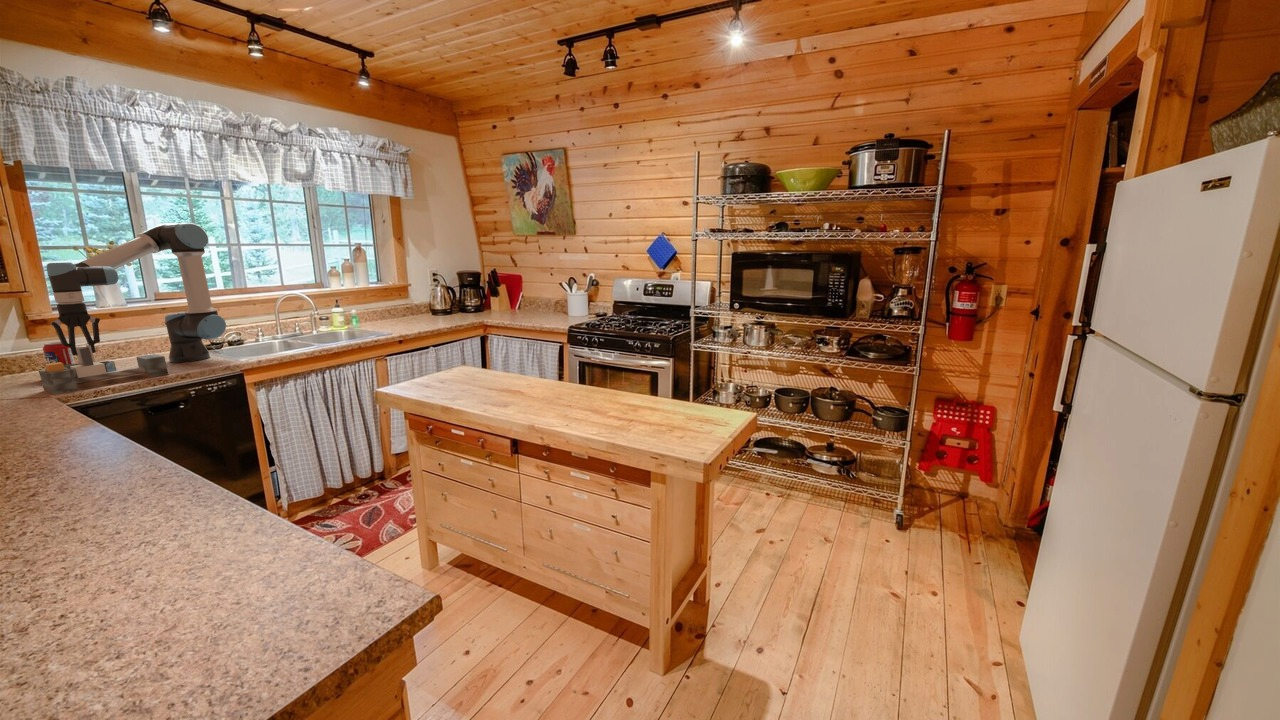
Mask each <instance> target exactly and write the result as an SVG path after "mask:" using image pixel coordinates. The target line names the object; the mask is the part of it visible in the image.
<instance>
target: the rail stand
mask: <svg viewBox="0 0 1280 720" xmlns="http://www.w3.org/2000/svg"><path fill="white" fill-rule="evenodd" d="M136 361H137V364H138V367H133V368H125V369H120V370H119V369H118V370H116V371H112V372H107V374H100V375H94V376H88V377H82V378H77V377H75V376H74V372H73V370H72V369H69V368H66V367H64V368H65V370H62V371H55V372H47V371H46V370H45V369H43V370H38V373H39V376H40V380H41V384H42V388H43V392H46V393H47V394H50V395H53V396H54V395H57V394H64V393H70V392H74V391H80V390H86V389H90V388H91V389H92V388H98V387H104V386H110V385H115V384H120V383H121V384H122V383H128V382H131V381H138V380H144V379H150V378H151V379H152V378H155V377H162V376H166V375H169V371H168V366H167V362H166V358H165V356H164V355H161V354H160V355H159V354H155V353H154V354H153V353H152V354H146V355H139V356H136Z"/></svg>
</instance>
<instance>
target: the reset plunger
mask: <svg viewBox="0 0 1280 720" xmlns="http://www.w3.org/2000/svg"><path fill="white" fill-rule="evenodd" d="M44 367H45V369H46V371H47V372H55V371H62V370H65V368H64V365H63V363H61V362H58V363H51V364H47V363H46V364H45V363H44Z"/></svg>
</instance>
